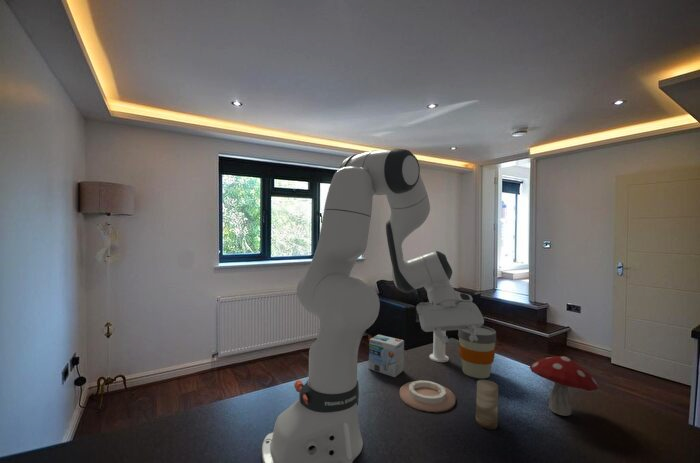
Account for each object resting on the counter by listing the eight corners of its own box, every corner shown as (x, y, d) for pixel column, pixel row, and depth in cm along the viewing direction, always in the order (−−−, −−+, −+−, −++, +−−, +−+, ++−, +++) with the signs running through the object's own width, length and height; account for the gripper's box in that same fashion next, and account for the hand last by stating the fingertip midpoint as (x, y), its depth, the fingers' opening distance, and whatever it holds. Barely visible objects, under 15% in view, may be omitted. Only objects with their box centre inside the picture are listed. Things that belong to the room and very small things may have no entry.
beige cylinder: (486, 431, 79) (487, 390, 79) (471, 419, 84) (472, 381, 84) (502, 426, 81) (503, 387, 81) (486, 415, 86) (487, 378, 86)
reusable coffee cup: (491, 366, 116) (492, 325, 116) (499, 383, 104) (500, 337, 104) (455, 362, 119) (456, 322, 119) (458, 378, 107) (460, 333, 107)
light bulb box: (367, 369, 112) (368, 338, 112) (377, 362, 118) (378, 333, 118) (395, 377, 106) (396, 345, 106) (404, 370, 112) (404, 340, 112)
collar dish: (419, 417, 84) (419, 408, 84) (389, 388, 99) (390, 380, 99) (467, 405, 90) (467, 397, 90) (433, 380, 105) (433, 373, 105)
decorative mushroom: (520, 393, 98) (522, 344, 98) (578, 399, 95) (580, 349, 95) (542, 424, 82) (543, 366, 82) (612, 433, 79) (614, 373, 79)
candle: (449, 363, 119) (451, 296, 118) (429, 361, 120) (431, 295, 120) (447, 355, 126) (449, 292, 125) (429, 354, 127) (430, 291, 127)
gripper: (417, 297, 99) (432, 339, 90) (475, 295, 104) (495, 335, 94) (411, 308, 103) (424, 349, 94) (467, 305, 108) (485, 344, 99)
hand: (460, 342), depth 94 cm, fingers open, 8 cm apart
